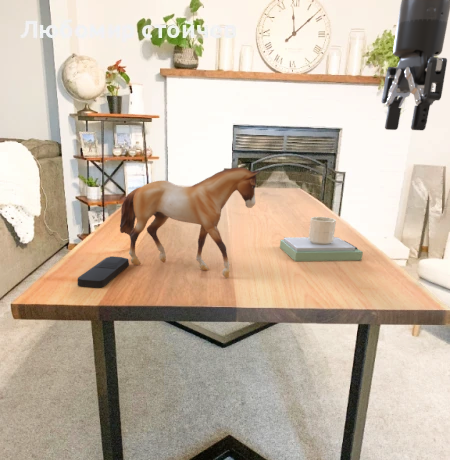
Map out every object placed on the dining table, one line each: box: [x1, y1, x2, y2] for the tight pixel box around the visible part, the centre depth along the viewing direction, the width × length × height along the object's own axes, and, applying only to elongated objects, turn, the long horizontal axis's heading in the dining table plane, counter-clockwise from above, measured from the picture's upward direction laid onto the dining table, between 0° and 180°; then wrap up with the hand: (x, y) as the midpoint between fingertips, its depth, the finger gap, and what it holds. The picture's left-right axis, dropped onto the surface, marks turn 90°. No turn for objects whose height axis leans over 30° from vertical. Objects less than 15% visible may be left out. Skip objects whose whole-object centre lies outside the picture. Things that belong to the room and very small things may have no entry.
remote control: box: [77, 255, 130, 289], centre depth 85 cm, size 5×2×15 cm
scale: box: [279, 236, 364, 262], centre depth 105 cm, size 16×12×3 cm
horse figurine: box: [119, 166, 261, 279], centre depth 87 cm, size 31×8×21 cm, turn 69°
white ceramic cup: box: [307, 216, 337, 245], centre depth 104 cm, size 6×6×6 cm
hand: (403, 129), depth 77 cm, fingers open, 8 cm apart
